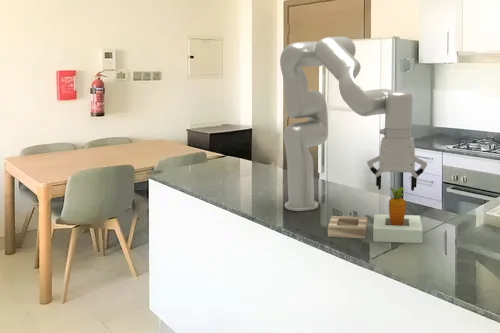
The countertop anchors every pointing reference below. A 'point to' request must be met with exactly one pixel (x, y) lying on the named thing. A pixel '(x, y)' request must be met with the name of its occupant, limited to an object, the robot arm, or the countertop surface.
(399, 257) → the countertop surface
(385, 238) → the pale green square frame
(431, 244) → the countertop surface
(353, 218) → the socket block
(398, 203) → the carrot
